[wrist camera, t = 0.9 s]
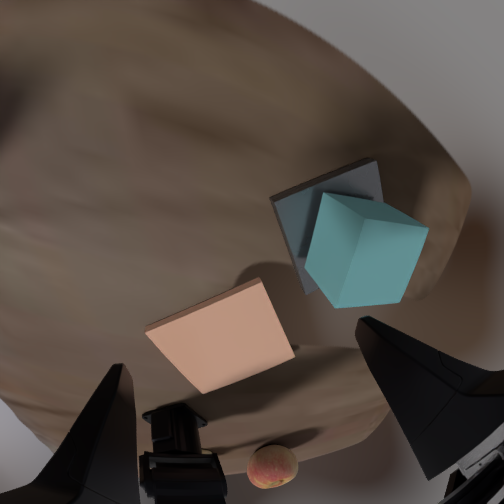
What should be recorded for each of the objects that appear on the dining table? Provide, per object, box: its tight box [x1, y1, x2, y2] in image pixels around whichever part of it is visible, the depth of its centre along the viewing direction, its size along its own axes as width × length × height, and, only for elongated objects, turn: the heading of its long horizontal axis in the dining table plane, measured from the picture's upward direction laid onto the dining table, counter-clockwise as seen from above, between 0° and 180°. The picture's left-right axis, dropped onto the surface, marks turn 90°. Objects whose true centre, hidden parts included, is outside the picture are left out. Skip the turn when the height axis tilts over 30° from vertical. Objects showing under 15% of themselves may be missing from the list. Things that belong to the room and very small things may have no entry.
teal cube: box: [304, 192, 429, 308], centre depth 19 cm, size 6×6×5 cm
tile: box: [145, 277, 295, 394], centre depth 25 cm, size 11×11×1 cm
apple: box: [247, 445, 298, 489], centre depth 38 cm, size 9×9×8 cm
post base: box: [270, 158, 384, 295], centre depth 20 cm, size 9×9×6 cm
